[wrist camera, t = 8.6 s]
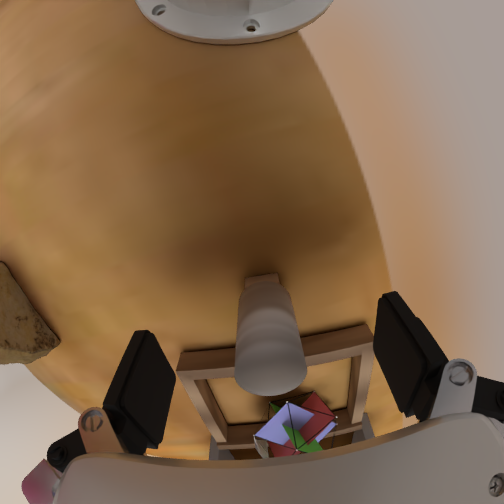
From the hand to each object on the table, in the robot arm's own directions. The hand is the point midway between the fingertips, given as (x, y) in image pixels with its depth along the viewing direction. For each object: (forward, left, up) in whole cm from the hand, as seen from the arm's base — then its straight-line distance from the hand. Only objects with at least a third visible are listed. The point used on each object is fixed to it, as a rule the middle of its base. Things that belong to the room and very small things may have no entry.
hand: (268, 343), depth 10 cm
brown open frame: (+9, 0, -7) cm, 11 cm away
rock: (0, -23, -7) cm, 24 cm away
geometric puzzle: (+14, +1, -7) cm, 16 cm away
